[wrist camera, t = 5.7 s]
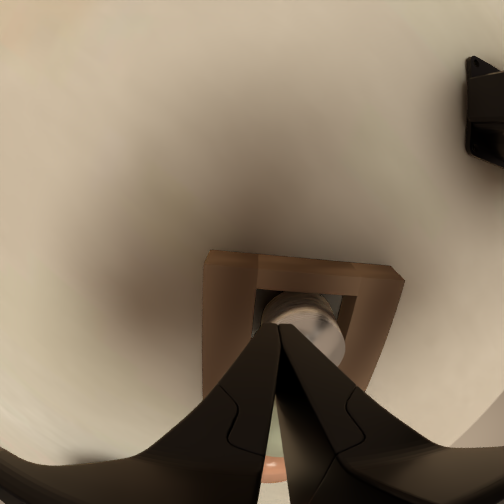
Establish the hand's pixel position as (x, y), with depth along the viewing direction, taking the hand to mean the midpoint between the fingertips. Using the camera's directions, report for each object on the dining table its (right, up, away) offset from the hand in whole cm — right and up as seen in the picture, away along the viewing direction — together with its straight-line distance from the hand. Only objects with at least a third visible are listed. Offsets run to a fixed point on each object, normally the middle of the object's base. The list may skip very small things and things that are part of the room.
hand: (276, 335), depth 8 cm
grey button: (+2, -1, +8) cm, 8 cm away
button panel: (+1, -7, +10) cm, 12 cm away
